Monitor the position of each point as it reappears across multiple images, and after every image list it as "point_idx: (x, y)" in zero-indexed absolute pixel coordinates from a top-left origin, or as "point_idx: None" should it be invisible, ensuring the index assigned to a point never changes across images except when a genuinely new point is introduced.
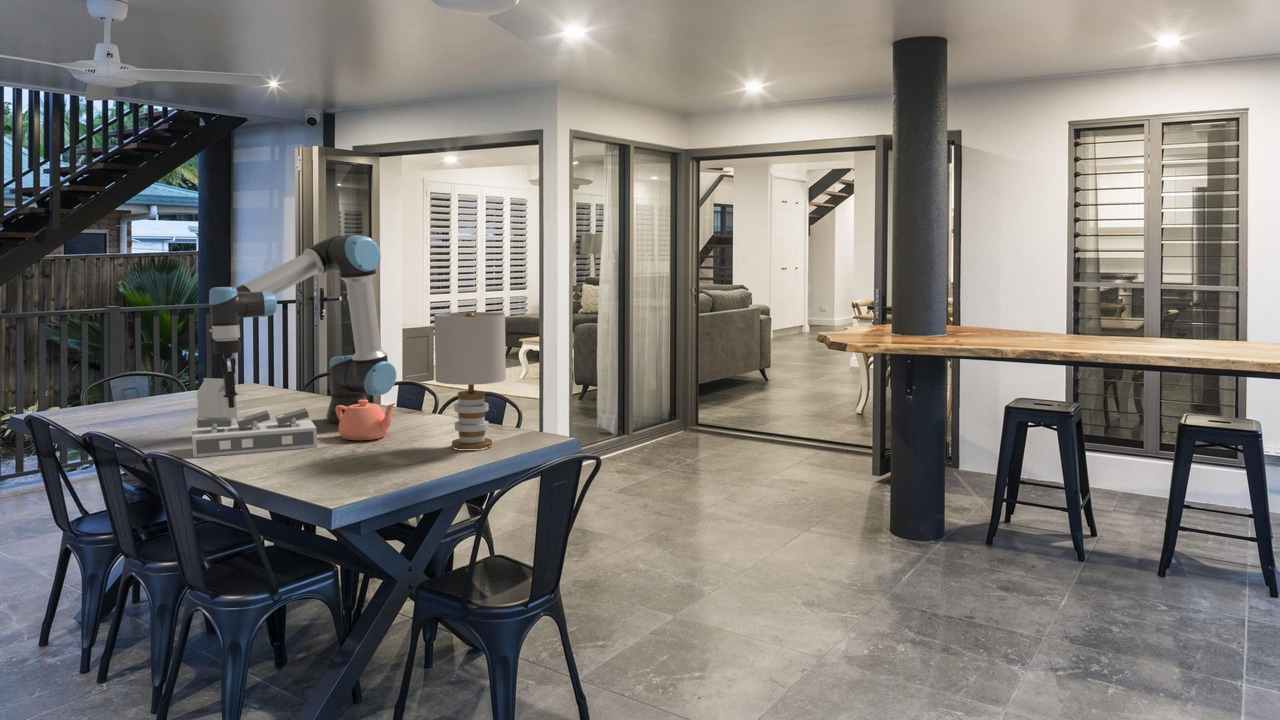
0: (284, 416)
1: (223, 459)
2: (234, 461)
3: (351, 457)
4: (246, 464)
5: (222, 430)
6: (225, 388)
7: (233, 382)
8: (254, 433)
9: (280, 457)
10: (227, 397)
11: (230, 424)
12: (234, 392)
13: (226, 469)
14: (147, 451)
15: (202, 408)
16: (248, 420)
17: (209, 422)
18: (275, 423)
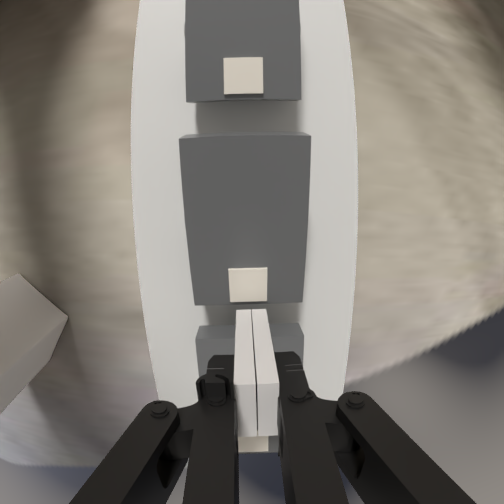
0: (276, 57)
1: (391, 307)
2: (430, 277)
3: (471, 6)
4: (473, 246)
5: None
6: (238, 481)
7: (433, 472)
8: (355, 217)
9: (436, 146)
10: (277, 425)
11: (300, 329)
12: (376, 410)
13: (492, 293)
14: (186, 465)
15: (4, 403)
16: (304, 249)
17: None
18: (156, 113)
